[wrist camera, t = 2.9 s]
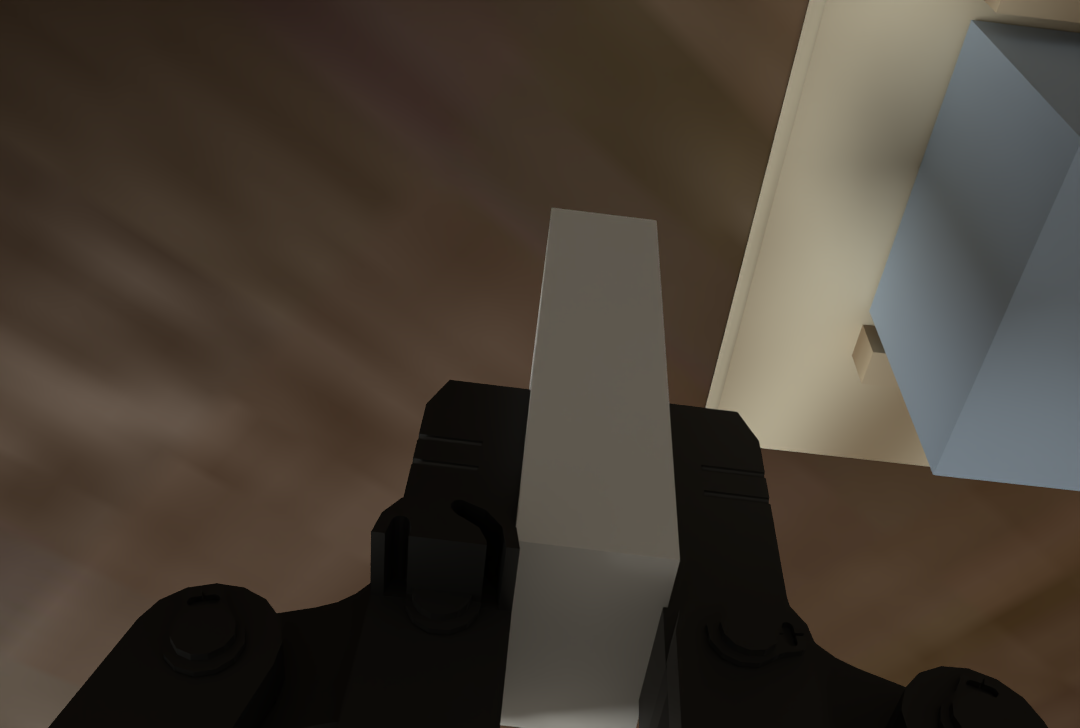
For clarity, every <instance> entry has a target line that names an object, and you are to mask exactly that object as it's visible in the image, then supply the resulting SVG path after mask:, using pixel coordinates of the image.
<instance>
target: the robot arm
mask: <svg viewBox="0 0 1080 728" xmlns="http://www.w3.org/2000/svg"><path fill="white" fill-rule="evenodd" d="M764 473H765V471H764V466H763V460H762V454H761V449H760V443H759V440H758V439H757V438H756V436H755V435H754V433H753V432H752V431H751V429H750V428H749V427H748V425H747V424H746V423H745V421H744V420H743V419H742V417H741V416H740V415H739V413H738V412H735V411H726V410H718V409H710V408H702V407H693V406H685V405H677V404H669V394H668V379H667V365H666V350H665V336H664V322H663V307H662V293H661V278H660V264H659V249H658V235H657V221H656V220H648V219H640V218H632V217H624V216H616V215H608V214H599V213H591V212H583V211H575V210H567V209H559V208H552V209H551V217H550V225H549V233H548V241H547V249H546V257H545V265H544V273H543V281H542V289H541V297H540V305H539V313H538V322H537V330H536V338H535V346H534V354H533V362H532V370H531V379H530V388H529V389H521V388H513V387H504V386H496V385H488V384H479V383H471V382H463V381H454V380H449V381H448V382H447V383H446V384H445V385H444V386H443V387H442V388H441V389H440V390H439V391H438V392H437V394H436V395H435V396H434V397H433V398H432V399H431V400H430V401H429V402H428V403H427V404H426V408H425V412H424V416H423V420H422V424H421V428H420V432H419V439H418V440H417V444H416V448H415V452H414V457H413V463H412V465H411V469H410V473H409V477H408V481H407V485H406V489H405V493H404V497H403V498H401V499H400V500H398V501H397V502H395V503H394V504H393V505H391V506H390V507H389V508H387V509H386V510H385V511H383V512H382V513H381V515H380V517H379V519H378V520H377V522H376V524H375V526H374V528H373V529H372V531H371V583H370V584H369V585H367V586H366V587H365V588H363V589H362V590H361V591H359V592H358V593H356V594H354V595H352V596H350V597H348V598H346V599H343V600H341V601H339V602H336V603H332V604H328V605H324V606H320V607H316V608H309V609H303V610H296V611H290V612H283V613H276V612H275V611H274V609H273V608H272V607H271V605H270V604H269V603H268V601H267V600H266V599H264V598H263V597H261V596H259V595H257V594H255V593H253V592H251V591H250V590H248V589H246V588H244V587H237V586H231V585H224V584H217V583H216V584H209V585H202V586H195V587H188V588H185V589H183V590H181V591H178V592H176V593H174V594H172V595H169V596H167V597H165V598H163V599H160V600H159V601H158V602H157V603H155V604H154V605H153V606H152V607H151V608H150V609H149V610H147V611H146V612H145V613H144V614H143V615H142V616H140V617H139V618H138V619H137V620H136V622H135V623H134V624H133V625H132V627H131V628H130V629H129V630H128V631H127V633H126V634H125V635H124V636H123V637H122V639H121V640H120V641H119V642H118V644H117V645H116V646H115V647H114V648H113V650H112V651H111V652H110V653H109V654H108V656H107V657H106V658H105V659H104V661H103V662H102V663H101V664H100V665H99V667H98V668H97V669H96V670H95V671H94V673H93V674H92V675H91V676H90V678H89V679H88V680H87V681H86V682H85V684H84V685H83V686H82V687H81V689H80V690H79V691H78V692H77V693H76V695H75V696H74V697H73V698H72V699H71V701H70V702H69V703H68V704H67V706H66V707H65V708H64V709H63V710H62V712H61V713H60V714H59V715H58V716H57V718H56V719H55V720H54V721H53V723H52V724H51V725H50V726H49V727H48V728H500V725H504V726H513V727H521V728H636V725H637V721H638V718H639V728H1048V727H1047V725H1046V724H1045V722H1044V721H1043V720H1042V719H1041V718H1040V716H1039V715H1038V714H1037V713H1036V712H1035V711H1034V709H1033V708H1032V707H1031V706H1030V705H1029V704H1028V703H1027V701H1026V700H1025V699H1024V698H1023V697H1021V696H1020V695H1019V694H1017V693H1016V692H1014V691H1013V690H1011V689H1010V688H1008V687H1007V686H1006V685H1004V684H1003V683H1001V682H1000V681H998V680H997V679H994V678H992V677H989V676H986V675H984V674H981V673H979V672H976V671H973V670H971V669H967V668H955V667H944V666H941V667H937V668H934V669H931V670H927V671H924V672H921V673H919V674H918V675H917V676H916V677H915V678H914V679H913V680H912V681H911V682H910V683H909V684H908V685H907V686H906V687H904V686H901V685H899V684H896V683H894V682H891V681H888V680H886V679H883V678H881V677H878V676H876V675H873V674H871V673H868V672H865V671H863V670H860V669H858V668H855V667H853V666H851V665H849V664H847V663H845V662H843V661H841V660H839V659H837V658H835V657H834V656H832V655H831V654H830V653H828V652H827V651H825V650H824V649H823V648H821V647H820V646H819V645H817V644H816V643H815V642H814V640H813V638H812V635H811V633H810V631H809V628H808V626H807V624H806V623H805V622H804V621H803V620H802V619H801V618H800V617H799V616H798V615H797V614H796V612H795V611H794V610H793V609H792V608H791V607H790V605H789V602H788V599H787V596H786V590H785V584H784V579H783V573H782V567H781V562H780V556H779V551H778V545H777V539H776V534H775V528H774V522H773V517H772V511H771V505H770V504H769V503H768V502H769V494H768V488H767V483H766V478H764Z"/></svg>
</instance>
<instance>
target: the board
mask: <svg viewBox="0 0 1080 728" xmlns="http://www.w3.org/2000/svg"><path fill="white" fill-rule="evenodd" d="M971 20H976V21H985V22H993V23H1001V24H1009V25H1018V26H1026V27H1034V28H1042V29H1051V30H1059V31H1067V32H1075V33H1080V0H810V1H809V5H808V9H807V12H806V16H805V20H804V24H803V28H802V32H801V36H800V40H799V44H798V48H797V52H796V56H795V59H794V63H793V67H792V71H791V75H790V79H789V83H788V87H787V91H786V95H785V99H784V103H783V106H782V110H781V114H780V118H779V122H778V126H777V130H776V134H775V138H774V142H773V146H772V150H771V153H770V157H769V161H768V165H767V169H766V173H765V177H764V181H763V185H762V189H761V193H760V197H759V200H758V204H757V208H756V212H755V216H754V220H753V224H752V228H751V232H750V236H749V240H748V244H747V247H746V251H745V255H744V259H743V263H742V267H741V271H740V275H739V279H738V283H737V287H736V291H735V294H734V298H733V302H732V306H731V310H730V314H729V318H728V322H727V326H726V330H725V334H724V338H723V341H722V345H721V349H720V353H719V357H718V361H717V365H716V369H715V373H714V377H713V381H712V385H711V388H710V392H709V396H708V400H707V404H706V408H710V409H718V410H726V411H735V412H738V413H739V415H740V416H741V417H742V419H743V420H744V421H745V423H746V424H747V425H748V427H749V428H750V429H751V431H752V432H753V433H754V435H755V436H756V438H757V439H758V440H759V443H760V448H766V449H775V450H785V451H794V452H803V453H812V454H821V455H830V456H839V457H848V458H857V459H866V460H875V461H884V462H893V463H902V464H911V465H921V466H930V465H929V463H928V460H927V458H926V455H925V452H924V450H923V447H922V445H921V442H920V440H919V437H918V435H917V432H916V429H915V427H914V424H913V422H912V419H911V417H910V414H909V412H908V409H907V406H906V404H905V401H904V399H903V396H902V394H901V391H900V388H899V386H898V383H897V381H896V378H895V376H894V373H893V371H892V368H891V365H890V363H889V360H888V358H887V355H886V353H885V350H884V348H883V345H882V342H881V340H880V337H879V335H878V332H877V330H876V327H875V325H874V322H873V319H872V317H871V314H870V312H869V311H870V308H871V305H872V302H873V299H874V296H875V293H876V291H877V288H878V285H879V282H880V279H881V276H882V273H883V271H884V268H885V265H886V262H887V259H888V256H889V254H890V251H891V248H892V245H893V242H894V239H895V236H896V234H897V231H898V228H899V225H900V222H901V219H902V216H903V214H904V211H905V208H906V205H907V202H908V199H909V196H910V194H911V191H912V188H913V185H914V182H915V179H916V176H917V174H918V171H919V168H920V165H921V162H922V159H923V156H924V154H925V151H926V148H927V145H928V142H929V139H930V137H931V134H932V131H933V128H934V125H935V122H936V119H937V117H938V114H939V111H940V108H941V105H942V102H943V99H944V97H945V94H946V91H947V88H948V85H949V82H950V79H951V77H952V74H953V71H954V68H955V65H956V62H957V59H958V57H959V54H960V51H961V48H962V45H963V42H964V39H965V37H966V34H967V31H968V28H969V25H970V22H971Z"/></svg>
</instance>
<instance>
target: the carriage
mask: <svg viewBox="0 0 1080 728" xmlns="http://www.w3.org/2000/svg"><path fill="white" fill-rule="evenodd" d="M869 312H870V314H871V317H872V319H873V322H874V325H875V327H876V330H877V332H878V335H879V337H880V340H881V342H882V345H883V348H884V350H885V353H886V355H887V358H888V360H889V363H890V365H891V368H892V371H893V373H894V376H895V378H896V381H897V383H898V386H899V388H900V391H901V394H902V396H903V399H904V401H905V404H906V406H907V409H908V412H909V414H910V417H911V419H912V422H913V424H914V427H915V429H916V432H917V435H918V437H919V440H920V442H921V445H922V447H923V450H924V452H925V455H926V458H927V460H928V463H929V465H930V468H931V470H932V473H933V475H939V476H948V477H957V478H966V479H976V480H985V481H994V482H1003V483H1012V484H1021V485H1030V486H1039V487H1048V488H1057V489H1066V490H1076V491H1080V33H1075V32H1067V31H1059V30H1051V29H1042V28H1034V27H1026V26H1018V25H1009V24H1001V23H993V22H985V21H976V20H971V22H970V25H969V28H968V31H967V34H966V37H965V39H964V42H963V45H962V48H961V51H960V54H959V57H958V59H957V62H956V65H955V68H954V71H953V74H952V77H951V79H950V82H949V85H948V88H947V91H946V94H945V97H944V99H943V102H942V105H941V108H940V111H939V114H938V117H937V119H936V122H935V125H934V128H933V131H932V134H931V137H930V139H929V142H928V145H927V148H926V151H925V154H924V156H923V159H922V162H921V165H920V168H919V171H918V174H917V176H916V179H915V182H914V185H913V188H912V191H911V194H910V196H909V199H908V202H907V205H906V208H905V211H904V214H903V216H902V219H901V222H900V225H899V228H898V231H897V234H896V236H895V239H894V242H893V245H892V248H891V251H890V254H889V256H888V259H887V262H886V265H885V268H884V271H883V273H882V276H881V279H880V282H879V285H878V288H877V291H876V293H875V296H874V299H873V302H872V305H871V308H870V311H869Z"/></svg>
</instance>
